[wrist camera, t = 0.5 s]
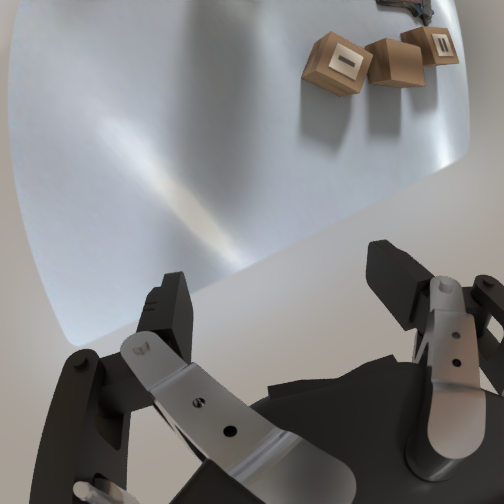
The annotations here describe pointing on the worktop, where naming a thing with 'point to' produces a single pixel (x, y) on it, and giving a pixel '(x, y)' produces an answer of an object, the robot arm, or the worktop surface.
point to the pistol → (413, 7)
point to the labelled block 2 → (432, 45)
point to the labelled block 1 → (337, 65)
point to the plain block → (395, 64)
